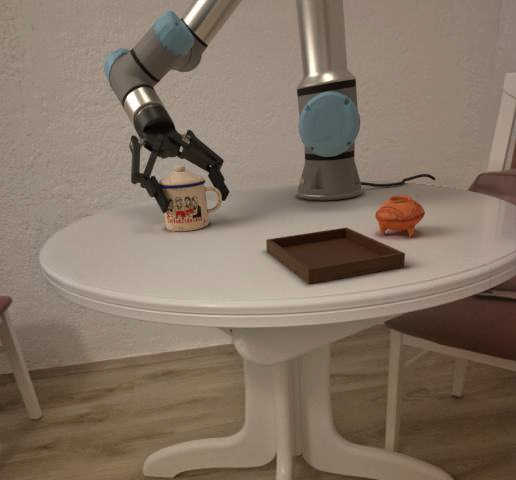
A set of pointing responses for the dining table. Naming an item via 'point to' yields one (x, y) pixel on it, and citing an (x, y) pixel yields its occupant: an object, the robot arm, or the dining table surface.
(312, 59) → the robot arm
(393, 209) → the pot
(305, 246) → the shallow tray
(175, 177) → the teacup with lid
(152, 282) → the dining table surface
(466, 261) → the dining table surface
